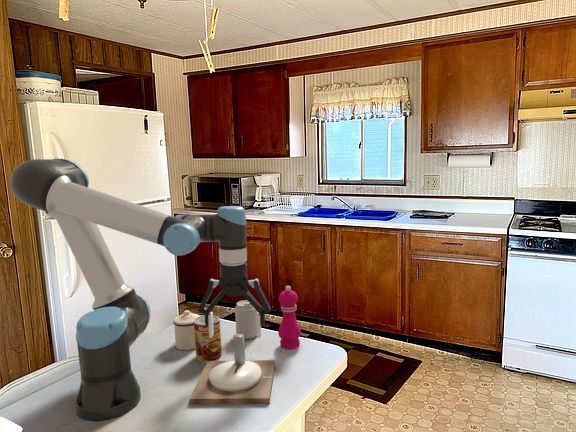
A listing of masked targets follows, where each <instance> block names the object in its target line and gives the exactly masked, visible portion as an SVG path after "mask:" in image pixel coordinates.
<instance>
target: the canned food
mask: <svg viewBox="0 0 576 432" xmlns="http://www.w3.org/2000/svg"><path fill="white" fill-rule="evenodd" d="M213 325H214V334H213V336H212V338H209V325H205V315H200V317H197V318H196V319H194V334H195V349H194V350H195V359H196V361H197V362H201V363H207V361H219V360H220V359H221V358H222V356H223V354H222V335H221V333H222V332H221V320H220V316H219V315H216V314H213Z"/></svg>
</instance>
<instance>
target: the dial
mask: <svg viewBox="0 0 576 432" xmlns="http://www.w3.org/2000/svg"><path fill="white" fill-rule="evenodd" d="M232 339H233V355H234V360H227V361H228V362H225V363H222V364H220V365H218V366H216V367H214V368H213V369H212V370H211V372H210V374H209V378H210V384H211V385H212V386H213V387H214V388H216V389H218V390H221V391H228V392H234V391H241V390H245V389H248V388H251V387H253V386H254V385H256V384H257V383H258V382H259V381H260V379H261V368H260V366H259V365H257V364H256V363H254V362H251V361H245V360H246V350H245V349H246V347H245V339H244V335H243V334H236V333H234V335H233V336H232Z"/></svg>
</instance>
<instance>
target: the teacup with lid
mask: <svg viewBox="0 0 576 432" xmlns="http://www.w3.org/2000/svg"><path fill="white" fill-rule="evenodd" d="M200 316H201V315H199V314H197V313H193V312H191V311H190V310H185V311H184V312H183V313H182V314H181V315H177V316H176V317H175V318H174V319H173V321H172V322H173V328H174V340H175V342H174V343H175V347H176V348H177V349H178V350H181V351H191V350H196V349H195V334H194V319H196V318H197V317H200Z"/></svg>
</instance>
